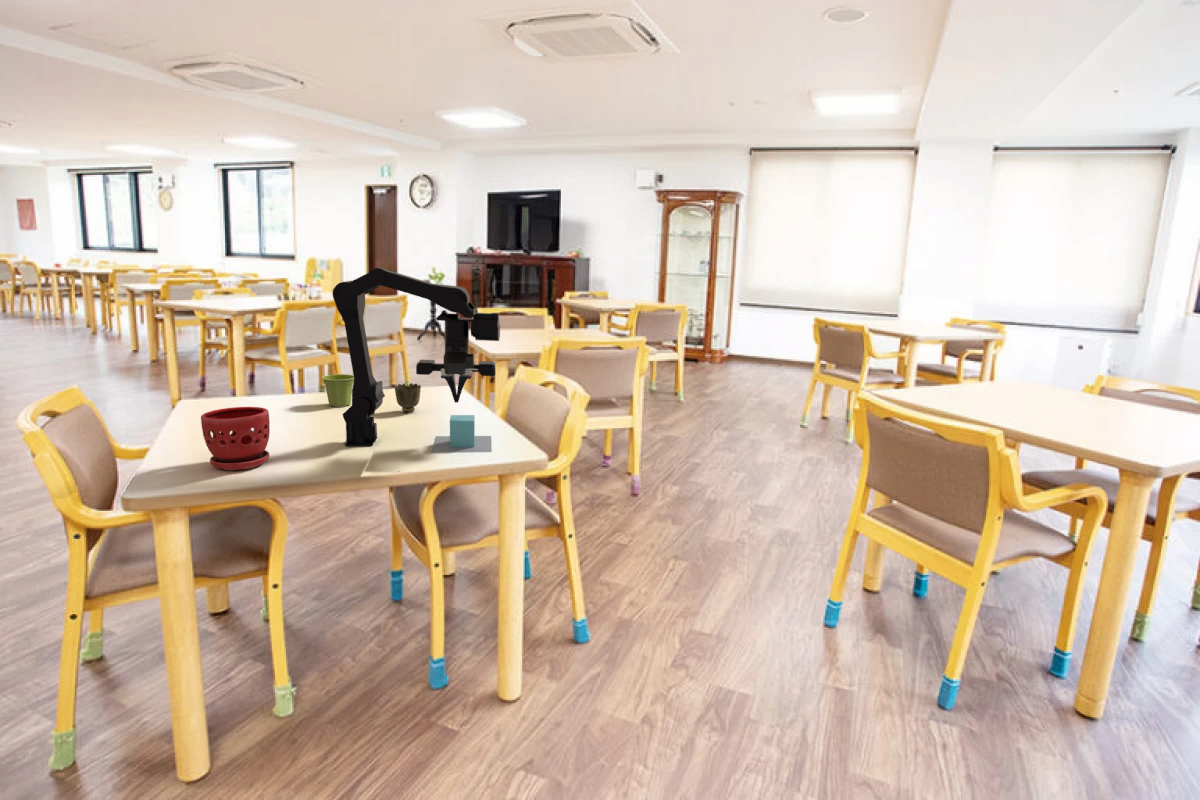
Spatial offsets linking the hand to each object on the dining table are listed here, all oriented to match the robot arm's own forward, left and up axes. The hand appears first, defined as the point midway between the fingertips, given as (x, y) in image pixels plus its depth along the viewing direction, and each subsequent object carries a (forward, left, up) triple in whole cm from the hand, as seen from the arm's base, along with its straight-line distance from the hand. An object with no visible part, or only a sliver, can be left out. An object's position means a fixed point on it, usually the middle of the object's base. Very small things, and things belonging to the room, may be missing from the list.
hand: (456, 402), depth 170 cm
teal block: (+2, -3, -10) cm, 10 cm away
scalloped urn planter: (-15, +34, -11) cm, 39 cm away
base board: (+2, -3, -11) cm, 11 cm away
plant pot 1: (-46, -14, -11) cm, 50 cm away
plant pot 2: (-36, +43, -11) cm, 58 cm away
